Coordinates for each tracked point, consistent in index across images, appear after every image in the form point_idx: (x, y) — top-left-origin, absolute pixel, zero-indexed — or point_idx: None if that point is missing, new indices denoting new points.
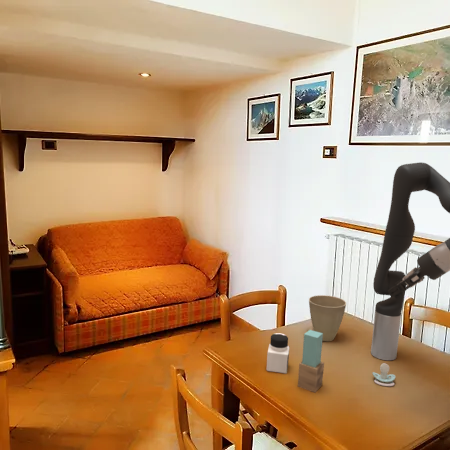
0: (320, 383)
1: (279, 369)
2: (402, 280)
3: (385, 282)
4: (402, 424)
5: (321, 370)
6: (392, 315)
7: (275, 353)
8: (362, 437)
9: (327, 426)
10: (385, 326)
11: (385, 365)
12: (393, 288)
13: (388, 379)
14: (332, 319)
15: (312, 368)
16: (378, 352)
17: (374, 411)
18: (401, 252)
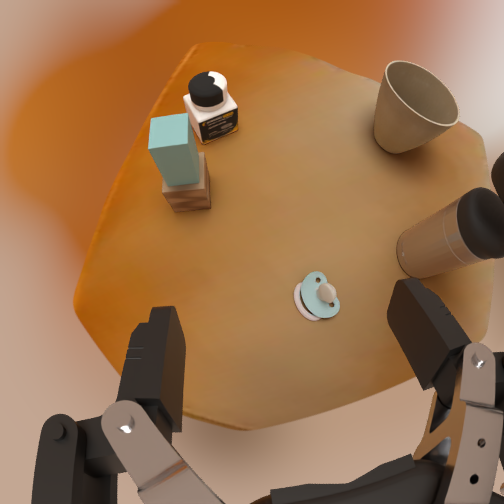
0: (199, 206)
1: (196, 131)
2: (180, 458)
3: None
4: (185, 377)
5: (193, 195)
6: (467, 244)
7: (188, 106)
8: (106, 331)
9: (97, 275)
10: (441, 239)
11: (329, 293)
12: (143, 357)
13: (321, 305)
14: (397, 124)
15: (163, 183)
16: (403, 247)
17: (189, 324)
18: None
